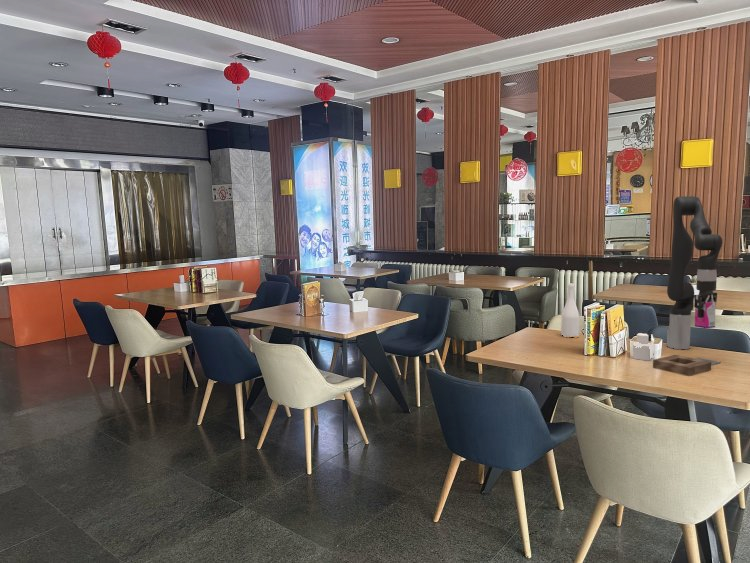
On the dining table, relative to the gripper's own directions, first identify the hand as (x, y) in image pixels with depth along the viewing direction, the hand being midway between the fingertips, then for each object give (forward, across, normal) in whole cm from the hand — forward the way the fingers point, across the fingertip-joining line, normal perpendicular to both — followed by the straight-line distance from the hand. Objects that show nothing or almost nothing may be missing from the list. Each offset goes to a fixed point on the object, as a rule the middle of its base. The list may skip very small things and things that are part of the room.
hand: (704, 316), depth 239 cm
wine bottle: (+21, +4, -71) cm, 74 cm away
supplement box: (+5, 0, 0) cm, 5 cm away
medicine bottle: (+21, +15, -19) cm, 32 cm away
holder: (+21, +18, +1) cm, 28 cm away
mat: (+21, 0, 0) cm, 21 cm away
